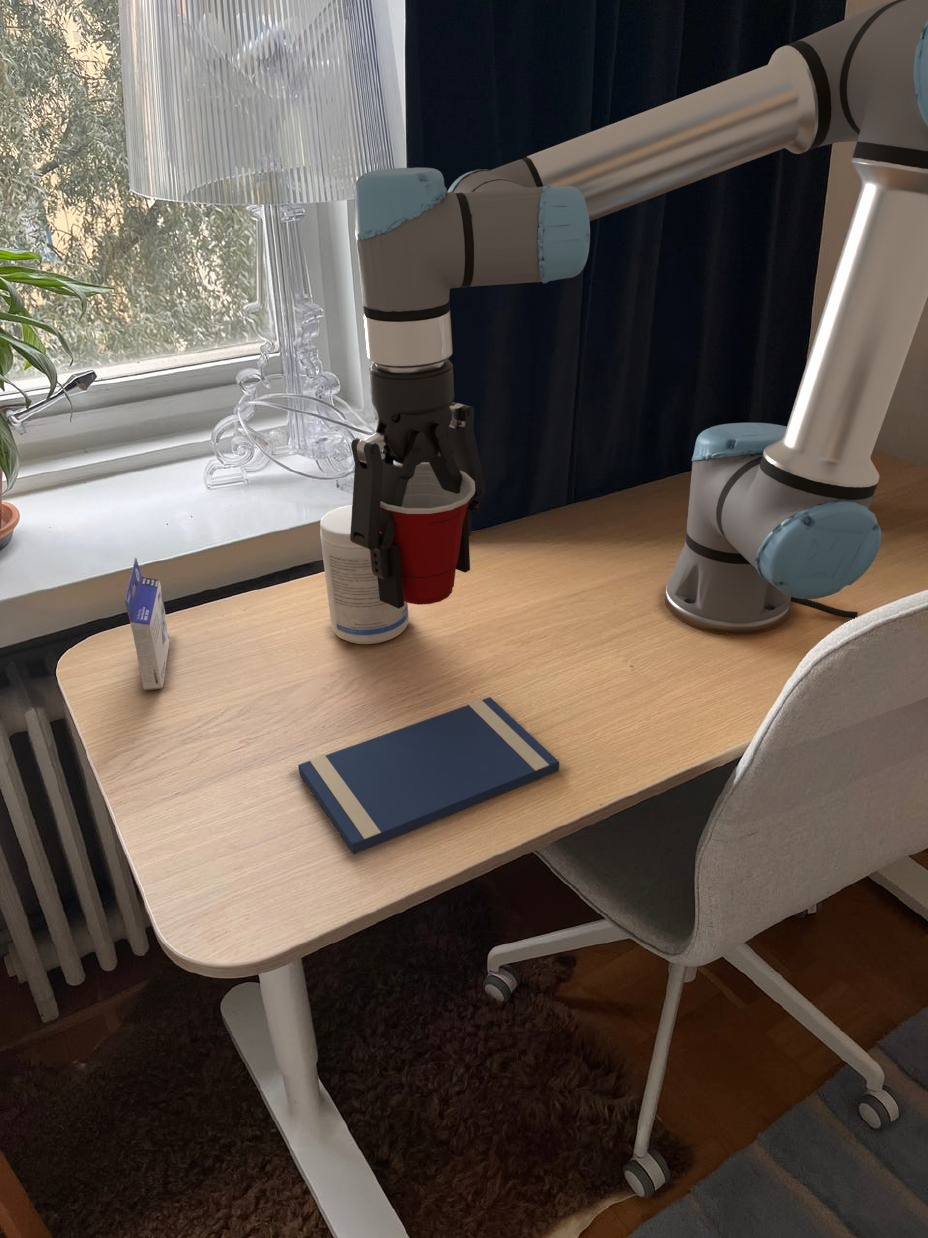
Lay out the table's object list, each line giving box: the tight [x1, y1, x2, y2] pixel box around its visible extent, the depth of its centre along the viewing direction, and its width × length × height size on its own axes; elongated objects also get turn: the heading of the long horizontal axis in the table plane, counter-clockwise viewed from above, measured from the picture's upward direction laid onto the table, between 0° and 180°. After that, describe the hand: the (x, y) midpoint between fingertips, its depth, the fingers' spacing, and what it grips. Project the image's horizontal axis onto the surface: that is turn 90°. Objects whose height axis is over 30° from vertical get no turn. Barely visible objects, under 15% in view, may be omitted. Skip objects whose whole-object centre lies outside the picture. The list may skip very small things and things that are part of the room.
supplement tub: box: [319, 504, 409, 645], centre depth 116 cm, size 10×10×15 cm
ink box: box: [124, 557, 171, 691], centre depth 110 cm, size 12×2×12 cm, turn 11°
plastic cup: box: [379, 462, 475, 606], centre depth 94 cm, size 11×11×12 cm
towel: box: [297, 696, 560, 855], centre depth 94 cm, size 22×13×1 cm, turn 120°
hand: (426, 584), depth 97 cm, fingers closed on plastic cup, 9 cm apart
